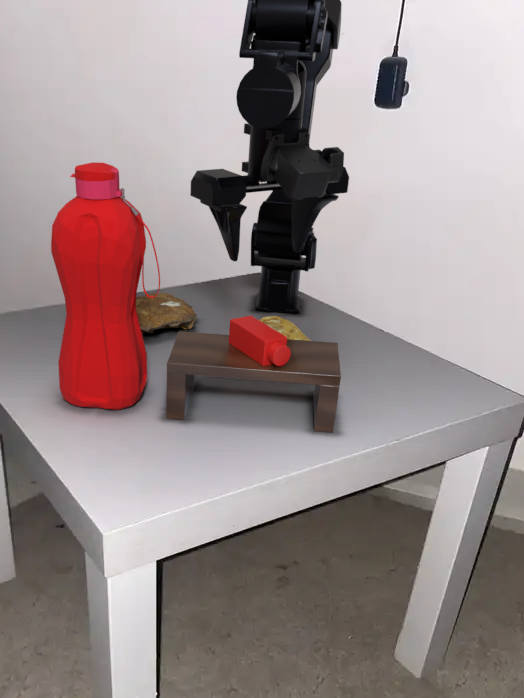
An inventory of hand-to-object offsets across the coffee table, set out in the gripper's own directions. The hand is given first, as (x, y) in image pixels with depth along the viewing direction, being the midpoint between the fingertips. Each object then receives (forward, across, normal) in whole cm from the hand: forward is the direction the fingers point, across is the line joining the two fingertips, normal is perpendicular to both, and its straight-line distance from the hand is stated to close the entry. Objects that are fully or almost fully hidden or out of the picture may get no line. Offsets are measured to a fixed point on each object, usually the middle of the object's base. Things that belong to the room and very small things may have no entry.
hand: (265, 256), depth 94 cm
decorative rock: (+13, -10, +14) cm, 21 cm away
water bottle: (+13, -22, -4) cm, 26 cm away
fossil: (+13, +1, -2) cm, 13 cm away
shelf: (+12, -9, -13) cm, 20 cm away
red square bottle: (+6, -9, -13) cm, 17 cm away
